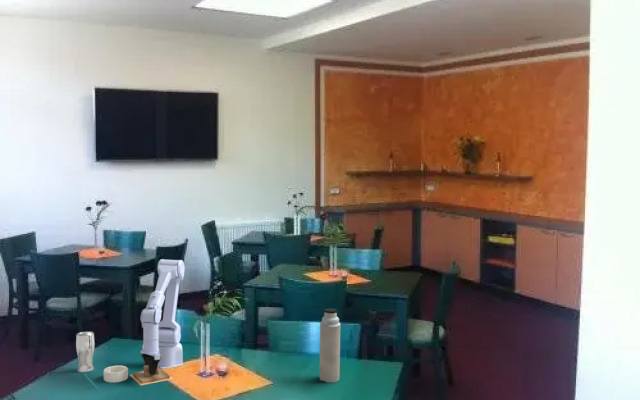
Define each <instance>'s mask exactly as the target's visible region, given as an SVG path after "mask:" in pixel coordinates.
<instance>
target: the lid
mask: <svg viewBox="0 0 640 400" xmlns="http://www.w3.org/2000/svg"><path fill="white" fill-rule="evenodd" d="M132 375H133V376H134V377H135V378H136V379H137V380H138V381H140V382H141V383H142V384H145V383H150V382H155V381H160V380H165V379H170V377H171V375H169V374H168V373H167V372H165V371H164V370H163V369H161V368H160V367H159V366H157V370H156V374H152V375H150V372H149V366H148V365H146V366H145V365H143V370H142V371H136V372H132ZM160 382H161V381H160ZM155 383H156V382H155ZM150 384H151V383H150ZM145 385H146V384H145Z"/></svg>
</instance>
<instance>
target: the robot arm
mask: <svg viewBox="0 0 640 400" xmlns="http://www.w3.org/2000/svg"><path fill="white" fill-rule="evenodd" d="M185 268H186V267H185V263H184V261H183V260H182V259H164V258H163V259H160V260H159V261H158V262H157V273H158V278H157V283H156V287H155V290H154V291H153V292H152V293H150V297H149V298H148V301H147V304H146V308H144V309H142V311H141V313H140V317H139V318H140V322H141V328H143V329H142V330H143V335H142V336H143V344H142V345H141V346H142V349H141V350H140V354H141V355H140V356H141V358H142V359H143V361H144V366H146V365H148V366H149V372H150V375H152V374H156V370H157V366H159V368H160V369H161V370H163V369H168V368H173V367H178V366H183V365H184V359H183V356H184V353H183V351H184V350H183V346H182V344H181V343H180V341H181V337H182V334H181V333H182V331H181V326H180V324H179V323H178V322H176V312H177V305H178V299H179V298H178V297H179V291H180V290H179V289H180V283H181V282H182V281H183V280H184V277H185ZM165 292H166V293H165ZM163 306H164V307H163ZM162 308H163V310H162ZM162 312H163V315H162ZM162 317H163V318H162ZM161 319H162V320H161Z"/></svg>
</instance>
